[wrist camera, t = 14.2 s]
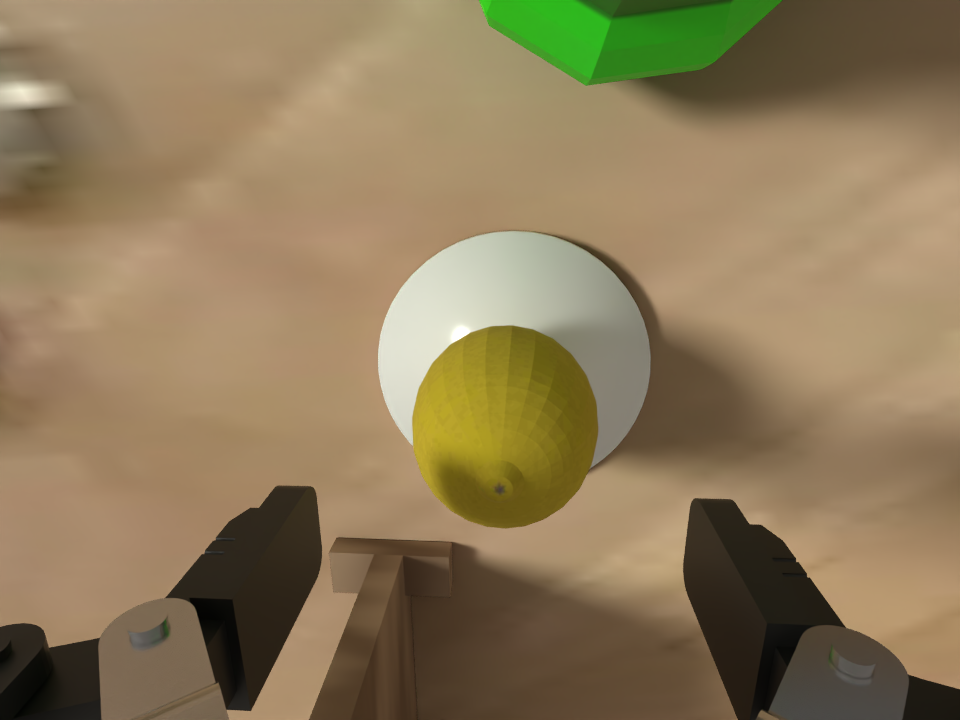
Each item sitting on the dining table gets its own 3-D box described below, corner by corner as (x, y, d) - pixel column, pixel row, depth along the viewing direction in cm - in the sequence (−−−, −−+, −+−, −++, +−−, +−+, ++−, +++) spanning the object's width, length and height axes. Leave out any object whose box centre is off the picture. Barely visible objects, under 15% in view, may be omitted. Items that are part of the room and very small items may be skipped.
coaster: (389, 478, 24) (386, 485, 23) (373, 230, 21) (368, 231, 20) (636, 485, 23) (639, 493, 22) (658, 229, 20) (662, 231, 19)
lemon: (594, 429, 22) (629, 572, 14) (451, 449, 22) (413, 596, 15) (573, 287, 20) (600, 363, 12) (419, 314, 21) (358, 402, 13)
